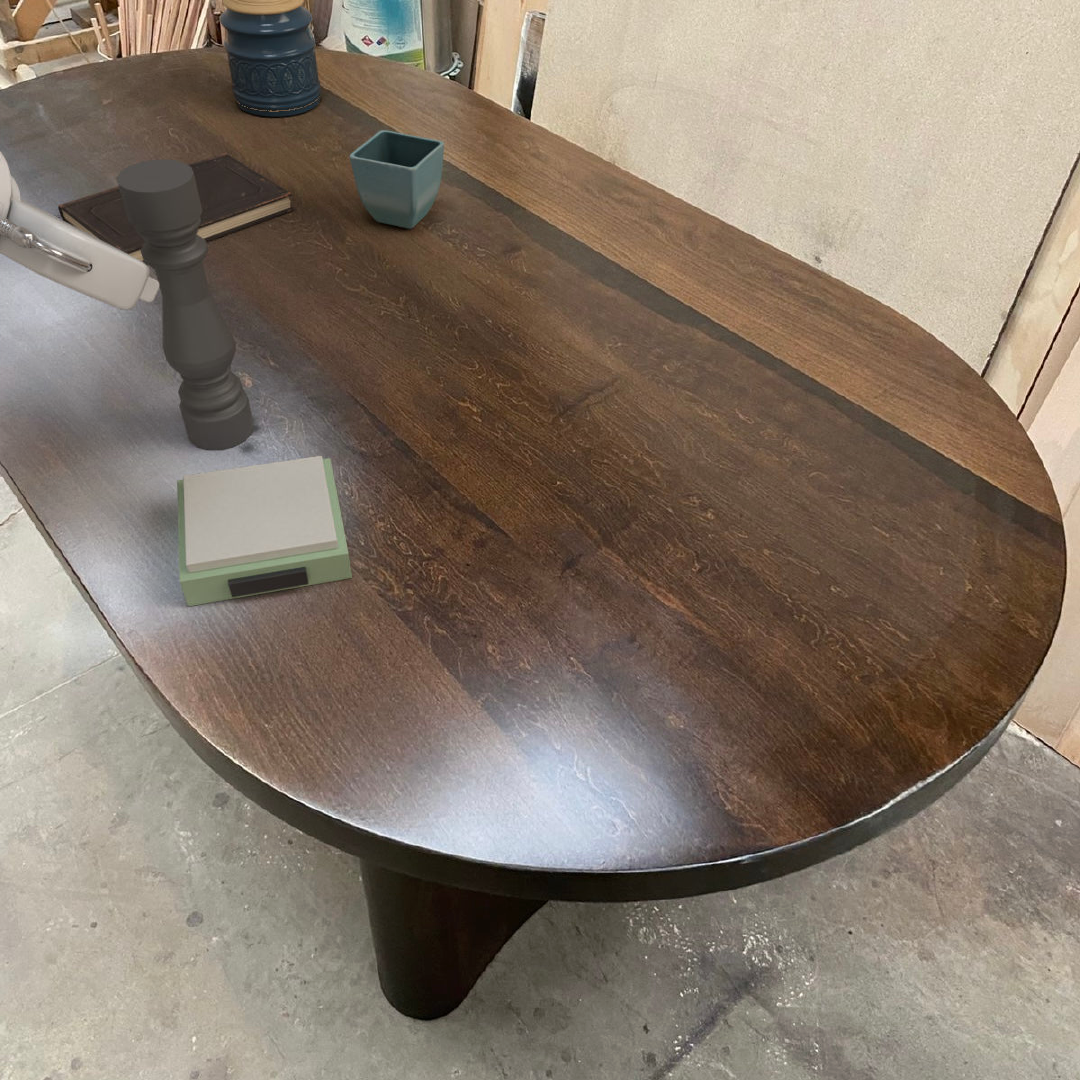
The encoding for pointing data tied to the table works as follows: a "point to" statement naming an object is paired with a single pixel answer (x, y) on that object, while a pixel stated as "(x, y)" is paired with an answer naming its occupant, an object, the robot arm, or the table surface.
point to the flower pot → (398, 176)
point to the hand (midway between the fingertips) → (111, 269)
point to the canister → (271, 56)
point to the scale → (259, 530)
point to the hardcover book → (224, 196)
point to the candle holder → (187, 301)
